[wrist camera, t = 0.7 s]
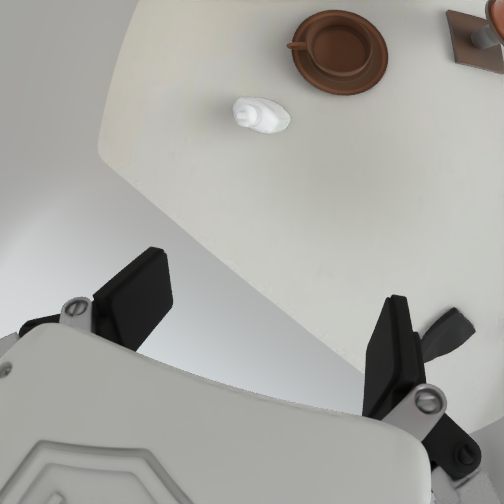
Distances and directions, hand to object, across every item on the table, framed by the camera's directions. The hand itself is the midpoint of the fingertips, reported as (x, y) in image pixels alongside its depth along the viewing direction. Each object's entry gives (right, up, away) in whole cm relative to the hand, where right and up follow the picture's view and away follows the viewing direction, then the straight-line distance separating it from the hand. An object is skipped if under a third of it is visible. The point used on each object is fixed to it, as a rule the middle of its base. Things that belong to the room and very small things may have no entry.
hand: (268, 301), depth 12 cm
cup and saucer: (+11, +27, +18) cm, 34 cm away
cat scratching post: (+29, +30, +10) cm, 43 cm away
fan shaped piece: (+33, -13, +31) cm, 47 cm away
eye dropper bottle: (+2, +20, +24) cm, 32 cm away
